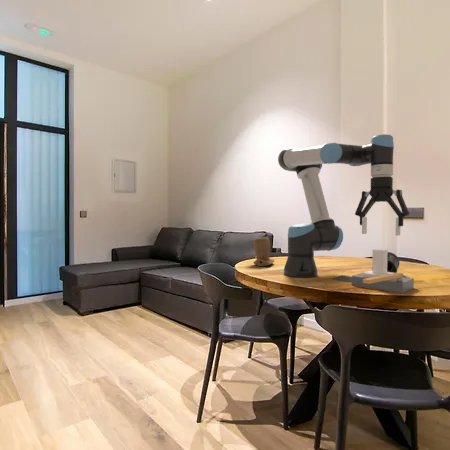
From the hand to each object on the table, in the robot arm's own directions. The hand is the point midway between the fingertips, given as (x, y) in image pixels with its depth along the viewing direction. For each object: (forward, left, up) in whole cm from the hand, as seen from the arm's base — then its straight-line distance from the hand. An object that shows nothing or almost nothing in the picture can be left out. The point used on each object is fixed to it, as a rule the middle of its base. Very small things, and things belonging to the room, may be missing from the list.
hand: (380, 234), depth 121 cm
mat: (-14, +4, -20) cm, 25 cm away
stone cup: (-65, +9, -20) cm, 69 cm away
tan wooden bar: (+6, -13, -14) cm, 20 cm away
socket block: (+1, 0, -20) cm, 20 cm away
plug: (0, 0, -20) cm, 20 cm away
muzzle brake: (-5, +21, -21) cm, 30 cm away
